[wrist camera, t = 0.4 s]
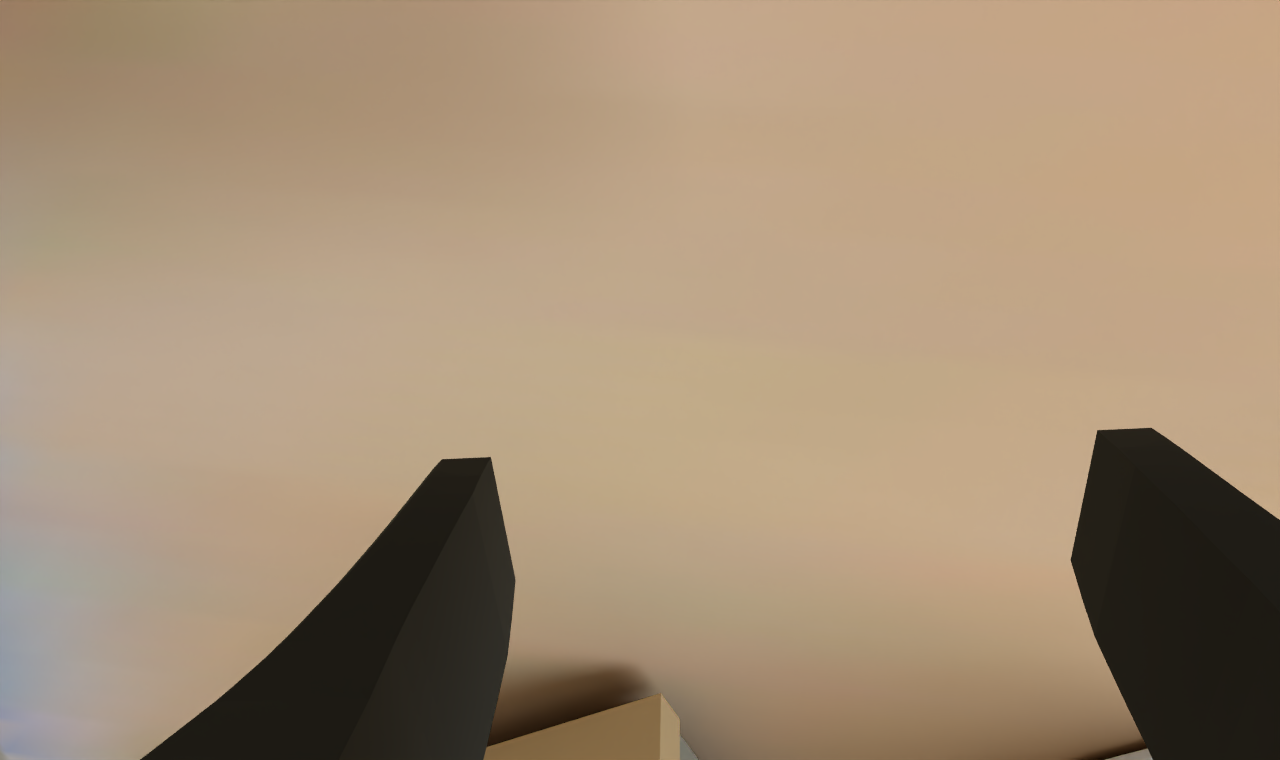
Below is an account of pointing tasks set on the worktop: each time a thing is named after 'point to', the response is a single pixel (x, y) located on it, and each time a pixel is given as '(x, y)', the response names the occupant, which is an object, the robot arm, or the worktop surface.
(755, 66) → the worktop surface
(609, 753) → the beige grey flat-sided piece
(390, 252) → the worktop surface
